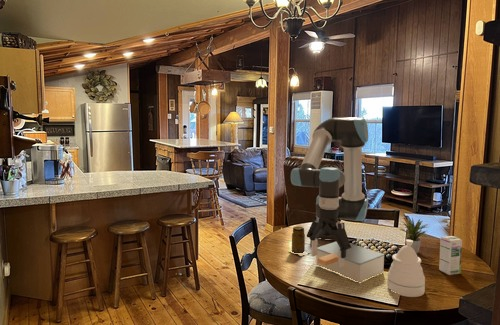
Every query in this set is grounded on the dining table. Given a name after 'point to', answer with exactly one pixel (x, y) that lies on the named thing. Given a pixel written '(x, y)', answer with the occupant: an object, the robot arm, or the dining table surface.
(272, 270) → the dining table surface
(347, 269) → the mailer box
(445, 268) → the syrup box
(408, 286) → the honey pot
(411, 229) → the house plant
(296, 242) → the condiment
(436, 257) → the dining table surface
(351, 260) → the lid
